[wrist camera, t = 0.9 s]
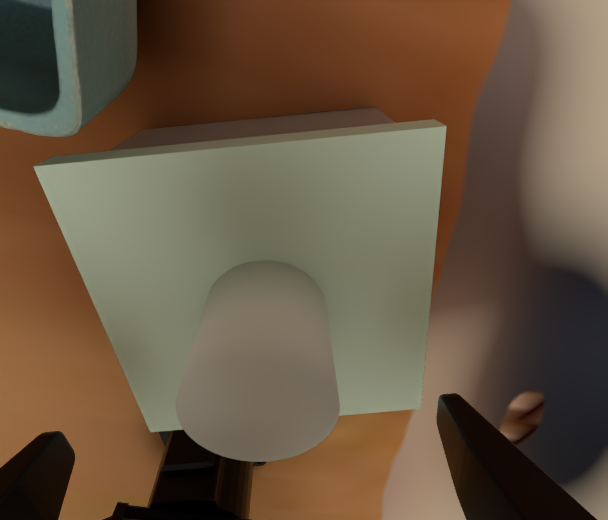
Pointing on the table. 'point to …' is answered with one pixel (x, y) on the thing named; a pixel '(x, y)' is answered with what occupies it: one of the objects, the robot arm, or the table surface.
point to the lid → (260, 276)
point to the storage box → (255, 127)
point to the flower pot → (63, 61)
